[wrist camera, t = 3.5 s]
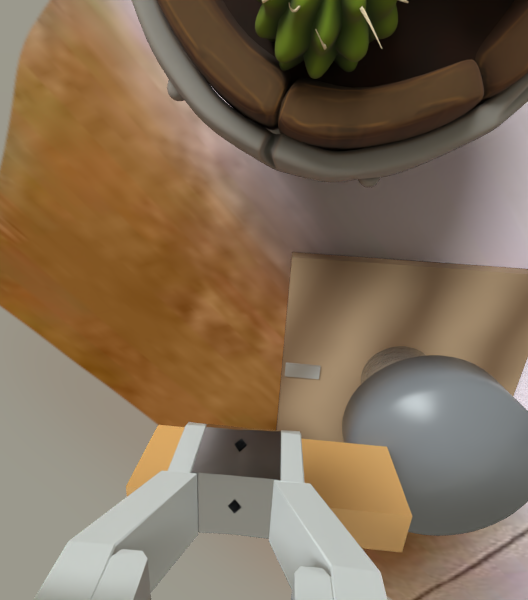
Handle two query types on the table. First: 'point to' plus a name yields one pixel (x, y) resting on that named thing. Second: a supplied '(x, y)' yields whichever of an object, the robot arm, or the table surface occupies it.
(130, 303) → the table surface
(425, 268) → the base plate
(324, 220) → the table surface
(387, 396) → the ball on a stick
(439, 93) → the flowerpot
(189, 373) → the table surface
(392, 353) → the short grey cylinder
